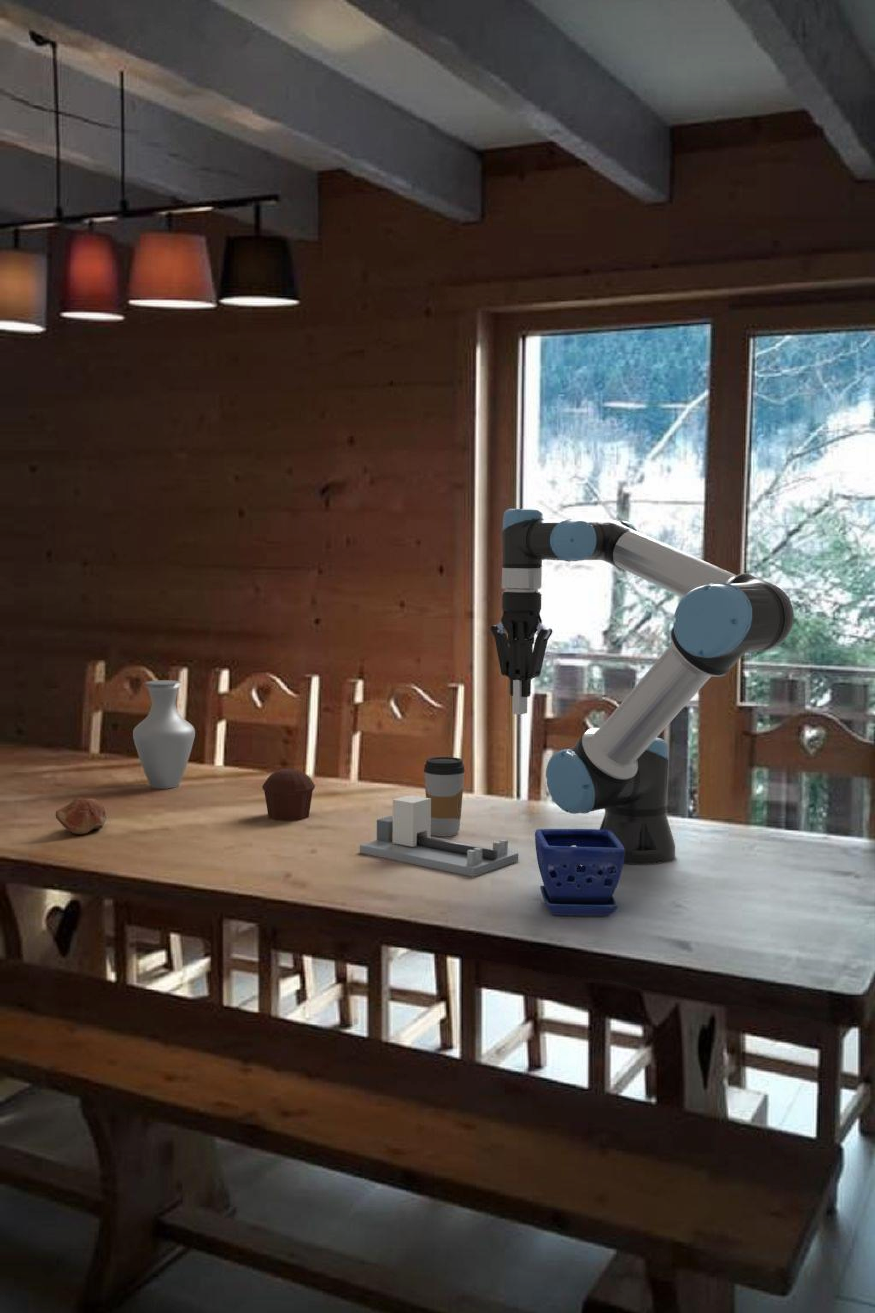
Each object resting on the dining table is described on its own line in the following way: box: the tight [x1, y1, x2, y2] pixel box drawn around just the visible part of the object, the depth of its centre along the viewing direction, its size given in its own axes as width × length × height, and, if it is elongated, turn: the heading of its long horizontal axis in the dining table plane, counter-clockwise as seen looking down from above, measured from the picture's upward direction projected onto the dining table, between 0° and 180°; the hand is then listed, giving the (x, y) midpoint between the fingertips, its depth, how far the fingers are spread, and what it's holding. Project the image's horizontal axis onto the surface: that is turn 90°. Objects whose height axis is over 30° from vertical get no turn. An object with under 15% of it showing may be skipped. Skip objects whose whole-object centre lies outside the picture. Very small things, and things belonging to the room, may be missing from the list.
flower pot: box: [534, 828, 625, 917], centre depth 213 cm, size 13×13×12 cm
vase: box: [132, 679, 196, 790], centre depth 309 cm, size 14×14×25 cm
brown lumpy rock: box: [55, 796, 107, 835], centre depth 264 cm, size 13×8×10 cm
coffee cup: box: [423, 756, 466, 837], centre depth 264 cm, size 8×8×15 cm
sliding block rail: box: [359, 815, 519, 877], centre depth 246 cm, size 27×14×6 cm, turn 52°
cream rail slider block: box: [392, 794, 432, 847], centre depth 249 cm, size 5×5×8 cm
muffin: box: [261, 768, 316, 822], centre depth 279 cm, size 12×11×10 cm
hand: (520, 713), depth 250 cm, fingers closed
